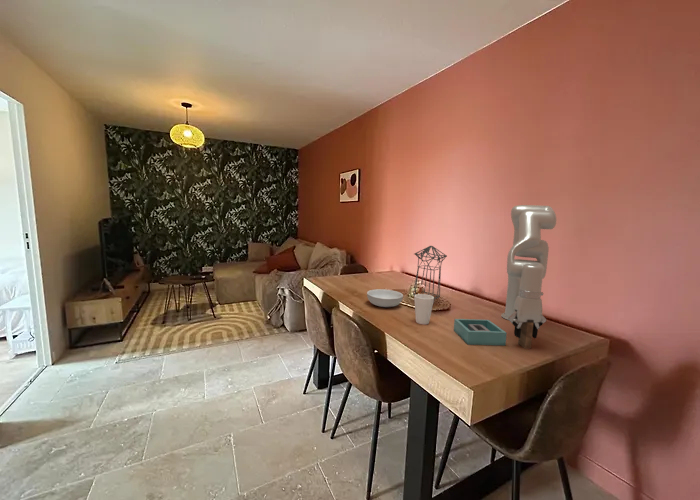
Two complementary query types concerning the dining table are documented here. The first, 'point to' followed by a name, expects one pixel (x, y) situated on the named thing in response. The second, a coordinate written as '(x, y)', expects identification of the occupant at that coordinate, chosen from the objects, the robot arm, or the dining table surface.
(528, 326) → the brown rectangular block
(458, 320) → the teal shallow tray
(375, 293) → the serving bowl
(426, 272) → the geometric lantern
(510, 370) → the dining table surface
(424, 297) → the foam cup
